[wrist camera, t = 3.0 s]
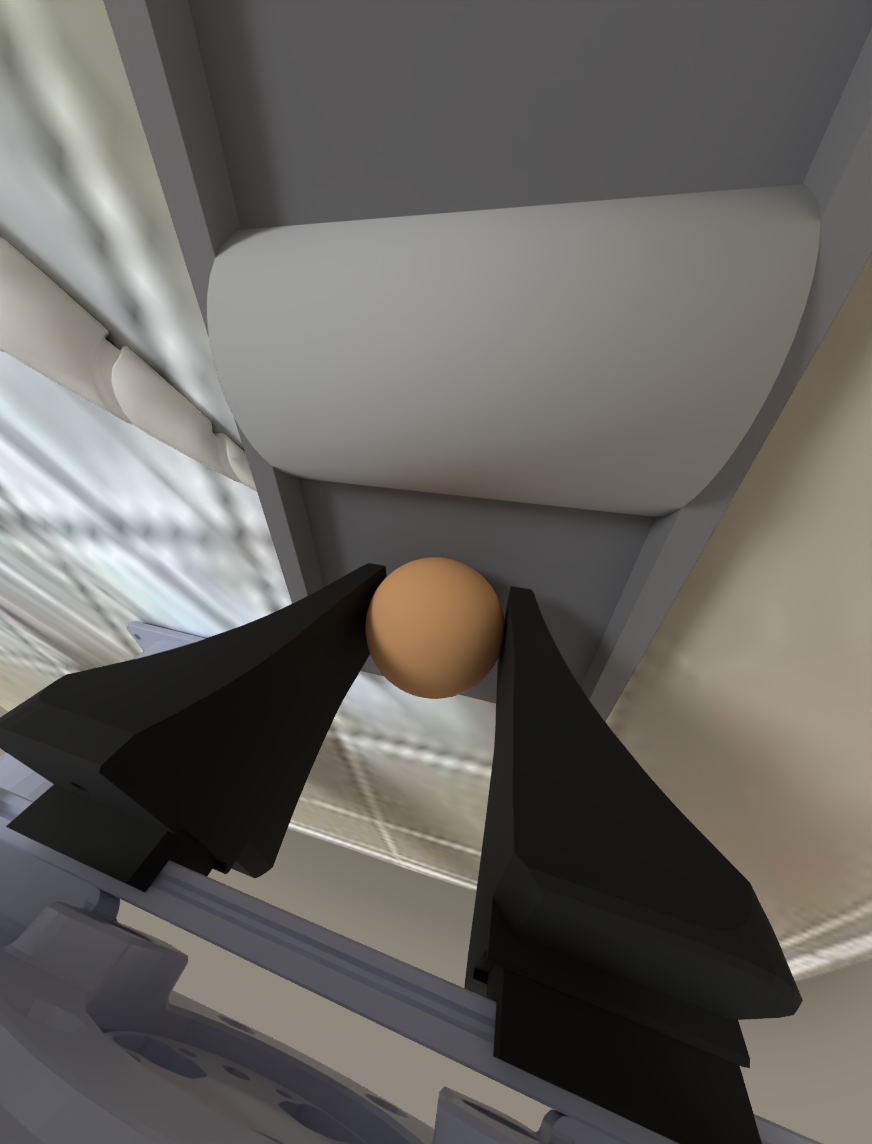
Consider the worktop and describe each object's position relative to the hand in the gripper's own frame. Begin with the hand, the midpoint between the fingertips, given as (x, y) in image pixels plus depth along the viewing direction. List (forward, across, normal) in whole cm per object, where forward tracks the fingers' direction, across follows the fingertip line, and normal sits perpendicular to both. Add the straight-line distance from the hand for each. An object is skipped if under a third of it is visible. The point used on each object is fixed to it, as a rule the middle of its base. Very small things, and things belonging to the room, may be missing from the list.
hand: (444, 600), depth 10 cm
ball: (+1, 0, 0) cm, 1 cm away
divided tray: (+5, 0, -12) cm, 13 cm away
